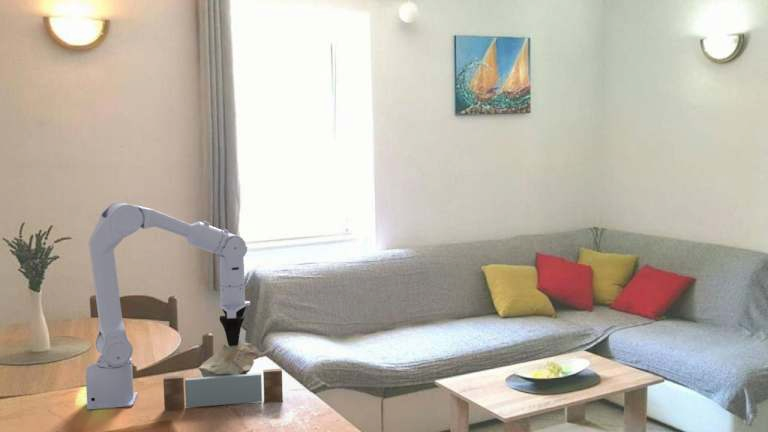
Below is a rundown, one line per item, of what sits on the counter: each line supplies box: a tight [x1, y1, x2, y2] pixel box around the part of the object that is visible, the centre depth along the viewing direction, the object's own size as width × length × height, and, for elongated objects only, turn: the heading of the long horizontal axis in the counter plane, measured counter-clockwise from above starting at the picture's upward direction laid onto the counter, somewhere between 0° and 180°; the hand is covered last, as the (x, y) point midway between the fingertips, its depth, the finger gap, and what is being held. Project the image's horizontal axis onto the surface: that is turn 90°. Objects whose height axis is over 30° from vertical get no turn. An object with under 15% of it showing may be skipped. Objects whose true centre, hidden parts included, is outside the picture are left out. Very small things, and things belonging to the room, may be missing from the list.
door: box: [184, 372, 263, 408], centre depth 156 cm, size 16×1×6 cm, turn 101°
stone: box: [198, 341, 261, 377], centre depth 164 cm, size 11×14×10 cm
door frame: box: [162, 368, 284, 412], centre depth 156 cm, size 25×2×7 cm, turn 101°
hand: (234, 340), depth 171 cm, fingers open, 7 cm apart
